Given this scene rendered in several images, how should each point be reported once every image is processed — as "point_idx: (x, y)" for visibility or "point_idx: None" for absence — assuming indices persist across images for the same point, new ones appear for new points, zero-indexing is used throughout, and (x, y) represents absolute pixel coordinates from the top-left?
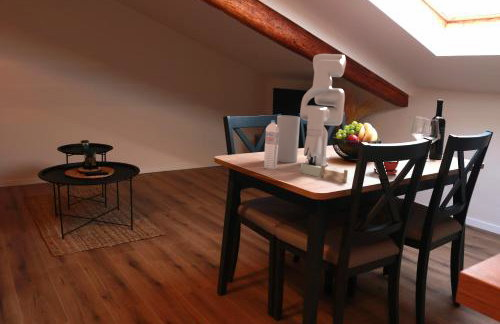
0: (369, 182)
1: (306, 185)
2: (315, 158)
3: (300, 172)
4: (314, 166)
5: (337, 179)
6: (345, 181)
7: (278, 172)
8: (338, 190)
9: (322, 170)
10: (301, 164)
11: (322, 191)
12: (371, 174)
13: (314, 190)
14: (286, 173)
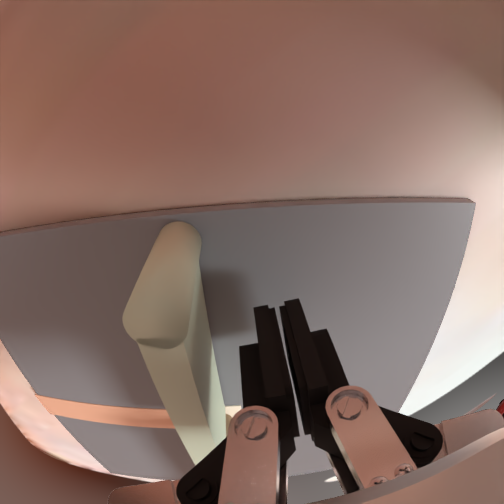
0: None
1: (35, 408)
2: (339, 482)
3: (159, 233)
4: (192, 454)
5: None
6: None
7: (14, 41)
8: (133, 478)
9: None
10: (125, 315)
11: (66, 456)
12: (491, 397)
13: (42, 440)
14: (45, 111)
